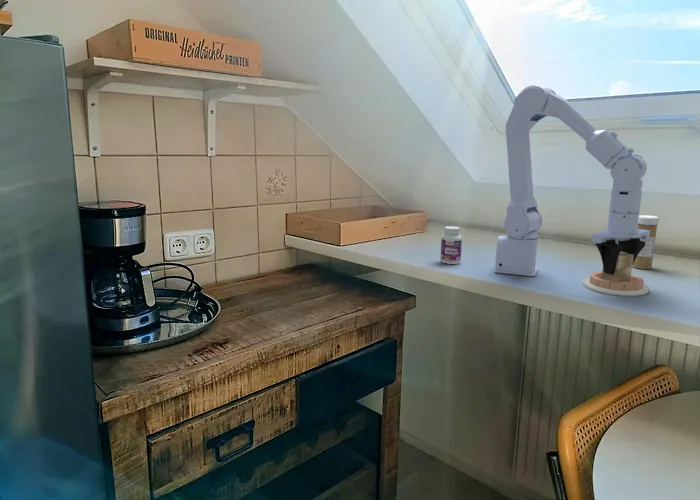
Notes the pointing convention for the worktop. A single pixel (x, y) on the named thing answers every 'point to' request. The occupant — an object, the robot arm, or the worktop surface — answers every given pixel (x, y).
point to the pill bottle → (451, 245)
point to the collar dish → (616, 285)
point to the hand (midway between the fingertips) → (616, 272)
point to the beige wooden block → (621, 269)
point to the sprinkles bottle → (646, 242)
